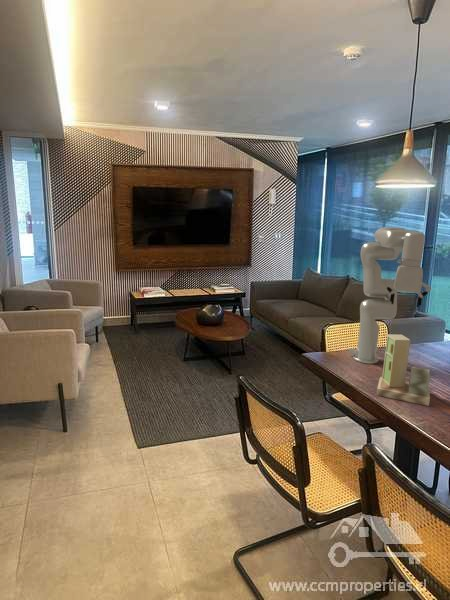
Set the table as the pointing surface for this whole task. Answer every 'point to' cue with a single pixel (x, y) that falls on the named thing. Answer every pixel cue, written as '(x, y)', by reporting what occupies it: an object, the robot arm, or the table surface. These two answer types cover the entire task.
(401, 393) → the board
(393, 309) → the robot arm
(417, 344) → the table surface
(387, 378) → the toy refrigerator
